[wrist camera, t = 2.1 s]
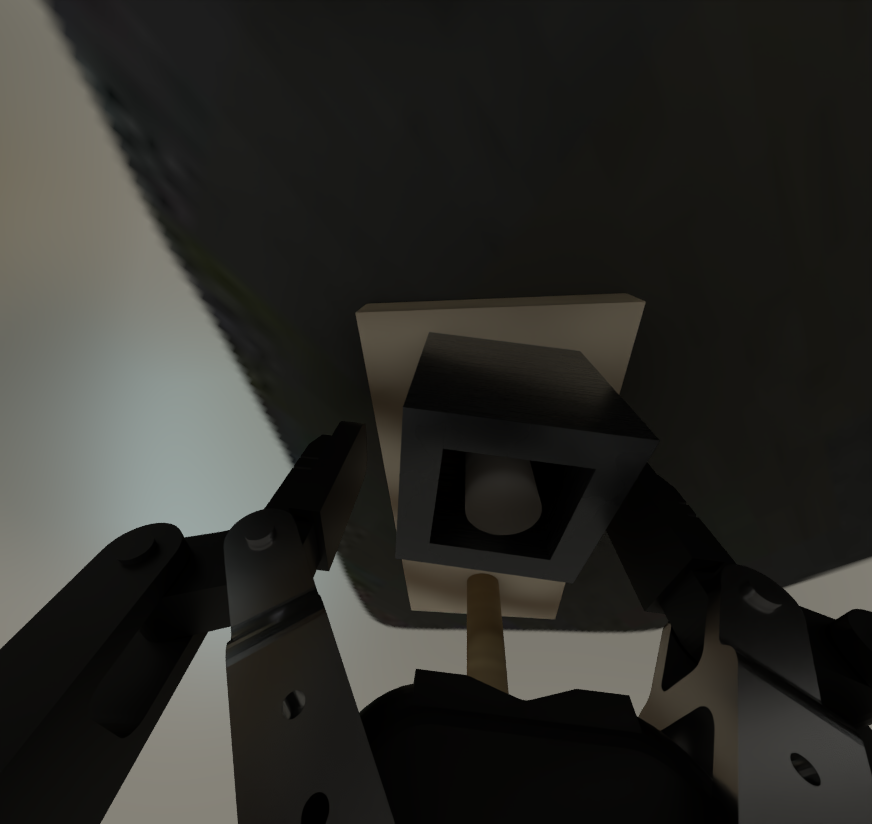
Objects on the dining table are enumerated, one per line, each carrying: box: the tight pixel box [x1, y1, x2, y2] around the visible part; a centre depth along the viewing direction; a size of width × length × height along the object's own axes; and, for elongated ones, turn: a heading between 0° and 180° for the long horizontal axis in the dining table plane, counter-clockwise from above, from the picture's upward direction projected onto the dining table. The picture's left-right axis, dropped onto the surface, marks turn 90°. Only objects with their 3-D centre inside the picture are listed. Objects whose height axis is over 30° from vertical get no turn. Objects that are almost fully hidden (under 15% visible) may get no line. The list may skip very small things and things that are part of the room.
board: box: [356, 293, 646, 694], centre depth 14 cm, size 21×10×8 cm, turn 3°
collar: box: [395, 332, 660, 584], centre depth 10 cm, size 6×6×6 cm
